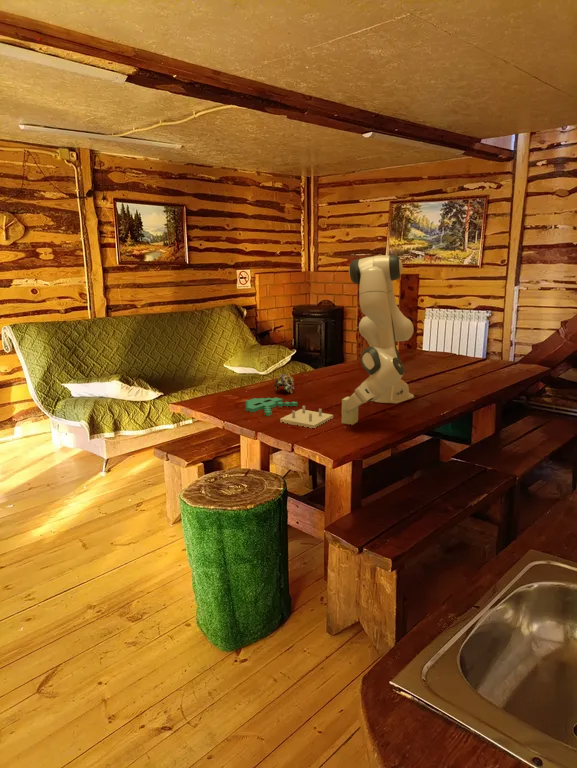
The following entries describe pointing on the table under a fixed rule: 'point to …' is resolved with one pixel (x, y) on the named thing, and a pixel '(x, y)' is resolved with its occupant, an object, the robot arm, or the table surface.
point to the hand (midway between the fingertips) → (348, 409)
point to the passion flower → (285, 383)
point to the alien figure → (266, 404)
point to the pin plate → (306, 418)
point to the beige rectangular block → (349, 414)
